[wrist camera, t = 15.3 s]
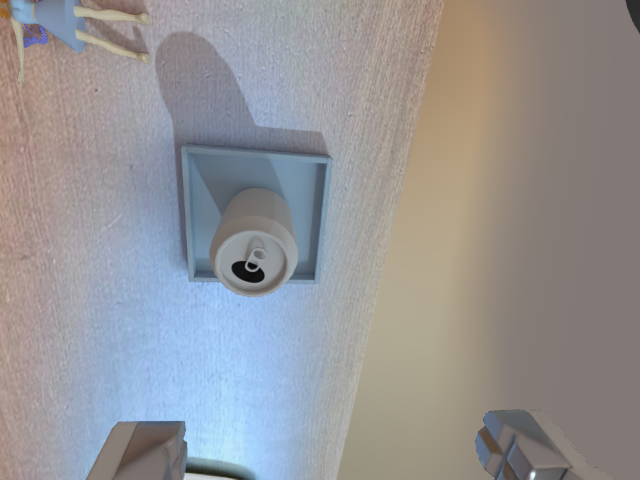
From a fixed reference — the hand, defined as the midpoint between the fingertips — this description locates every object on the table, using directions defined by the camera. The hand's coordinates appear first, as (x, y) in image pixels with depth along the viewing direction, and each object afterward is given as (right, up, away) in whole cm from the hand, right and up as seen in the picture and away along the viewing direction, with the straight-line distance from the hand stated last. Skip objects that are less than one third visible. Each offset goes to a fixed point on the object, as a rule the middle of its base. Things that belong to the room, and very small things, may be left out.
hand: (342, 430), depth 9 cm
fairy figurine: (-22, +24, +20) cm, 39 cm away
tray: (-8, +8, +29) cm, 31 cm away
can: (-8, +8, +29) cm, 31 cm away
